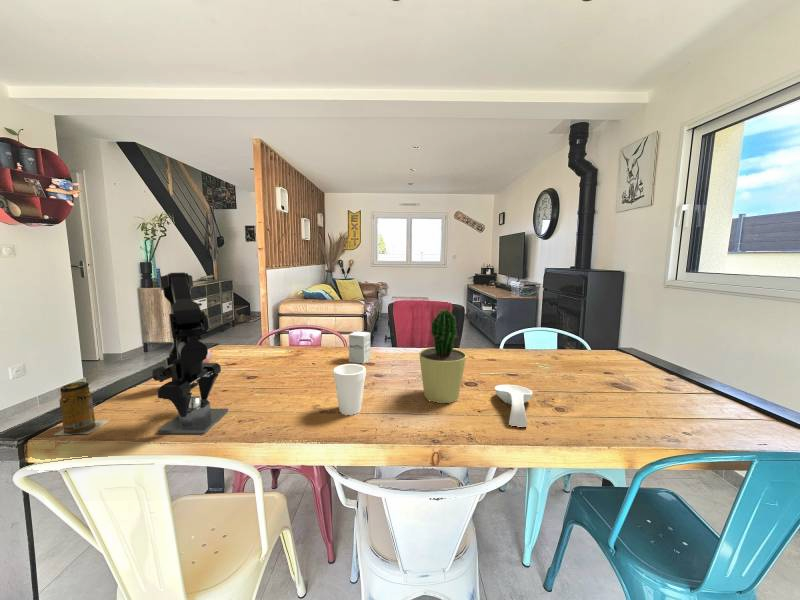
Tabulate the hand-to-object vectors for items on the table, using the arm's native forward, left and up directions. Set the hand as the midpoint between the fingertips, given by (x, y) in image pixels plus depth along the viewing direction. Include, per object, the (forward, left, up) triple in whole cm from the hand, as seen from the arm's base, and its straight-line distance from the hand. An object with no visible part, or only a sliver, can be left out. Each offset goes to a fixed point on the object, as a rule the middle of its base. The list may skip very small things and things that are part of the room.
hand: (194, 408), depth 89 cm
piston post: (0, 0, -4) cm, 4 cm away
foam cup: (-7, +42, -4) cm, 43 cm away
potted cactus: (-17, +71, -4) cm, 73 cm away
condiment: (+3, -28, -4) cm, 28 cm away
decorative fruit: (-42, -24, -4) cm, 49 cm away
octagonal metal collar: (0, 0, -3) cm, 3 cm away
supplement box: (-53, +40, -4) cm, 67 cm away
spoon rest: (-8, +93, -4) cm, 93 cm away
